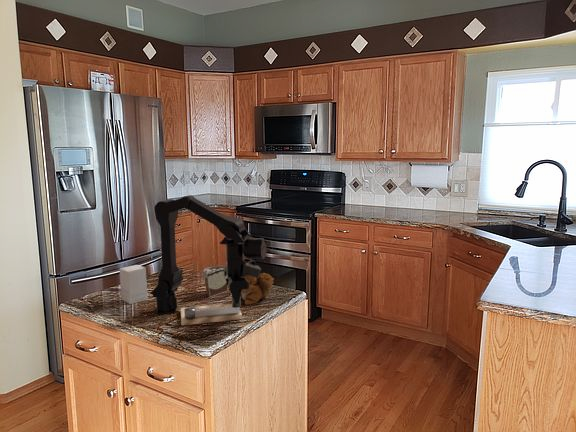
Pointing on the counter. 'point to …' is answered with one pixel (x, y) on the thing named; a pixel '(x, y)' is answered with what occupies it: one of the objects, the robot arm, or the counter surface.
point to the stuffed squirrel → (257, 288)
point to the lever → (212, 310)
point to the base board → (209, 318)
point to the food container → (215, 280)
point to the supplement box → (133, 284)
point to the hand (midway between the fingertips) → (236, 301)
